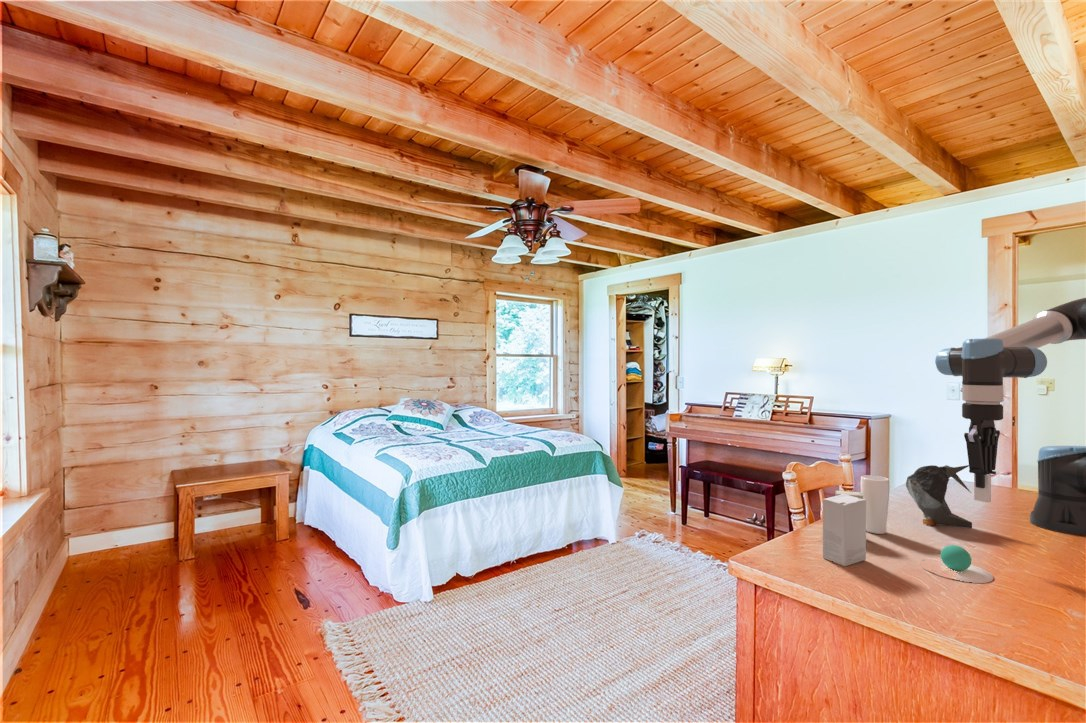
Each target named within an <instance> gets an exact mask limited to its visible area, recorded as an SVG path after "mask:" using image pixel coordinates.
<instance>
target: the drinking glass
mask: <svg viewBox="0 0 1086 723" xmlns="http://www.w3.org/2000/svg"><path fill="white" fill-rule="evenodd" d="M860 492H861V494H862V495H863V499H864V500H866V533H871V534H874V535H884V534H886V533H887V531H888V530H887V528H888V527H887V525H888V515H889V514H888V511H889V502H890V479H889V478H887V477H885V476H880V475H871V474H870V475H869V474H865V475H861V476H860Z"/></svg>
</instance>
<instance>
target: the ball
mask: <svg viewBox="0 0 1086 723" xmlns="http://www.w3.org/2000/svg"><path fill="white" fill-rule="evenodd" d="M940 559H941V560H942V562H943V563H944V564H945V565H946V566H947V567H948V568H950V569H952V570H956V571H963V570H966V569H968V568H969V567H970V565H972V557H971V554H970V553H969V552H968V550H966V549H965V548H964V547H962V546H960V545H956V544H950V545H946V546H945V547H943V548H942V549H941V551H940Z"/></svg>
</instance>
